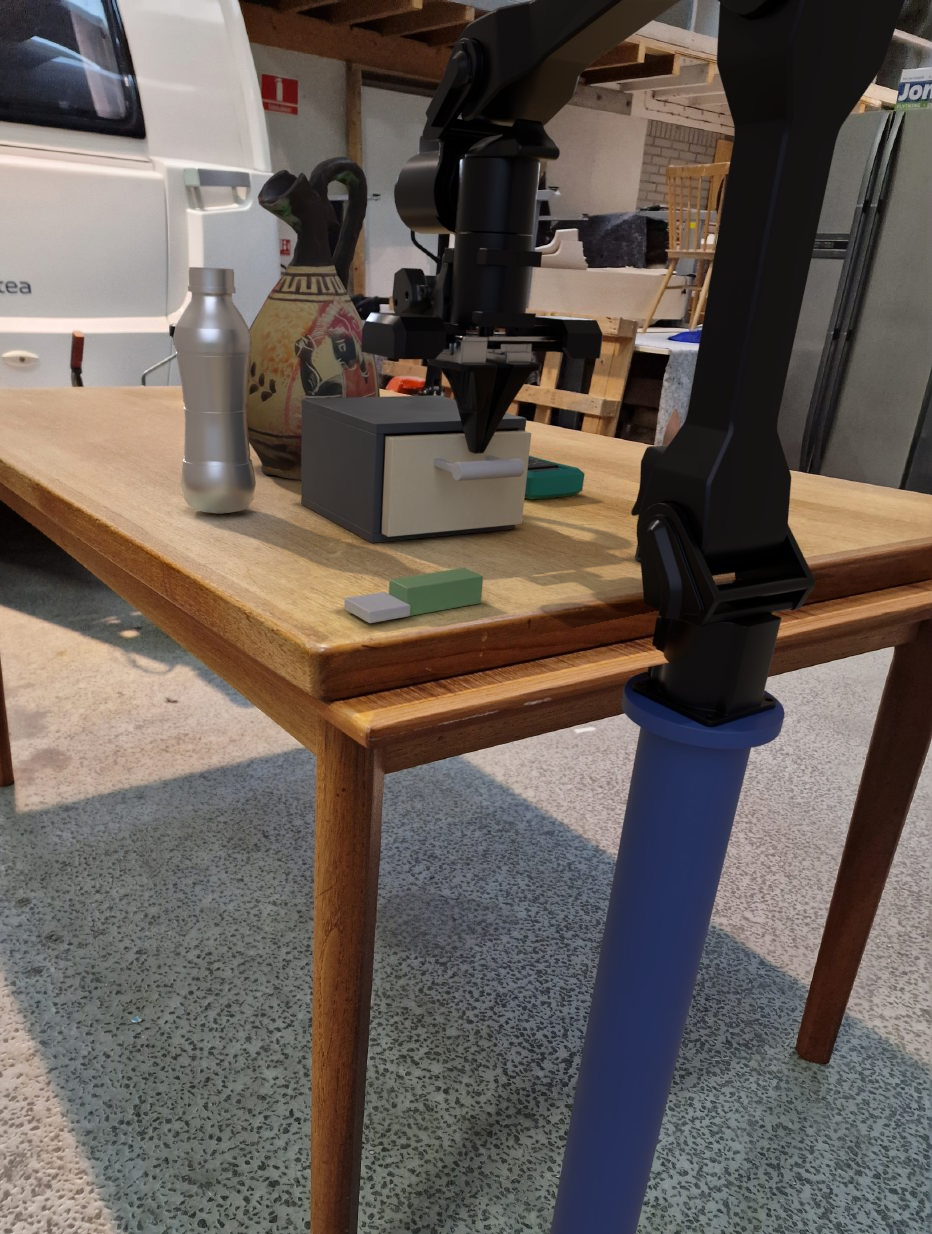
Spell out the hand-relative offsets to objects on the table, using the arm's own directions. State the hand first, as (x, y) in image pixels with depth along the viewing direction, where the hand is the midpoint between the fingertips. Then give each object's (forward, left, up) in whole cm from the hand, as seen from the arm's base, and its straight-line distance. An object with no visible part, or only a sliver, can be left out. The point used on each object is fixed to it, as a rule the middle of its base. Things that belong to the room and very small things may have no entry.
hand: (476, 452), depth 78 cm
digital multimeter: (+18, -20, -8) cm, 28 cm away
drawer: (+6, -1, -7) cm, 9 cm away
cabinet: (+11, -1, -8) cm, 13 cm away
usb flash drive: (-11, +13, -8) cm, 19 cm away
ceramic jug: (+32, -3, -8) cm, 33 cm away
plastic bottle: (+19, +14, -8) cm, 25 cm away
